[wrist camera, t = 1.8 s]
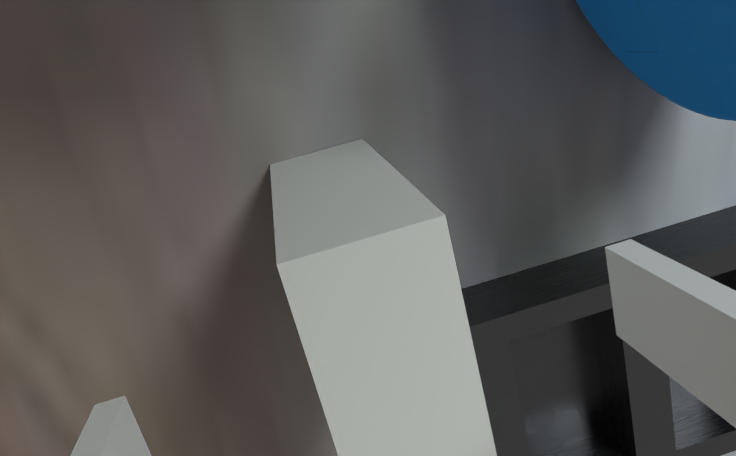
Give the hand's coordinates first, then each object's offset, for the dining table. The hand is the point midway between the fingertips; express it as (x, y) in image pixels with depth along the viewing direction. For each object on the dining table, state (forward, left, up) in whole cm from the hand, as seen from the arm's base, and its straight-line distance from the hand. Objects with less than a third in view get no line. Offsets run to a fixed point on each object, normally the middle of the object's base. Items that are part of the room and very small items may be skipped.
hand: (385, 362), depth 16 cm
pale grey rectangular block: (0, 0, -11) cm, 11 cm away
